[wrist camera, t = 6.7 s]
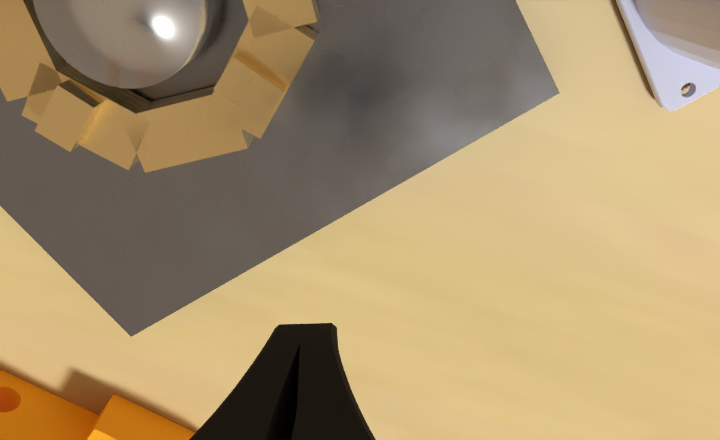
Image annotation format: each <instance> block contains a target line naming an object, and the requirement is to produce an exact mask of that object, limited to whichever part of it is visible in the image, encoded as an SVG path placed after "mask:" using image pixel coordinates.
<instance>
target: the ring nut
mask: <svg viewBox="0 0 720 440" xmlns="http://www.w3.org/2000/svg"><path fill="white" fill-rule="evenodd" d="M243 3H244V7H245V10H246V13H247V16H248V19H249V21H248V23H247V25H246V27H245V29H244V31H243V33H242V35H241V37H240V39H239V41H238V43H237V45H236V47H235V50H234V52H233V54H232V56H231V58H230V60H229V62H228V64H227V66H226V68H225V70H224V72H223V74H222V76H221V78H220V79H219V81H218V82H217V84H216V86H213V87H209V88H205V89H201V90H197V91H193V92H189V93H185V94H181V95H177V96H173V97H169V98H165V99H161V100H157V101H153V102H150V101H148V100H146V99H145V98H143V97H141V96H139V95H137V94H136V93H134V92H132V91H130V90H128V89H126V88H119V87H113V86H109V85H106V84H103V83H100V82H98V81H95V80H93V79H91V78H89V77H87V76H86V75H84V74H82V73H81V72H79V71H78V70H77V69H75V68H74V67H73V66H71V65H70V64H69V63H68V62H67V61H66V60H65V59H64V58H63V57H62V56H61V55H60V54H59V53H58V52H57V51H56V49H55V48H54V47H53V45H52V44H51V43H50V41H49V39H48V38H47V36H46V34H45V33H44V31H43V29H42V27H41V24H40V22H39V20H38V17H37V14H36V11H35V7H34V2H33V0H0V88H1V90H2V92H3V94H4V96H5V98H6V100H7V102H8V101H12V100H16V99H20V98H24V97H28V98H27V101H26V104H25V107H24V109H23V112H22V116H24V117H26V118H27V119H29V120H31V121H33V122H35V123H37V124H38V125H37V127H36V129H35V131H36V132H37V133H39V134H41V135H42V136H44V137H46V138H47V139H49V140H51V141H52V142H54V143H56V144H57V145H59V146H61V147H62V148H64V149H66V150H67V151H69V152H71V151H72V150H74V149H75V148H77V147H78V146H79V145H80V146H82V147H84V148H86V149H88V150H90V151H92V152H94V153H96V154H98V155H99V156H101V157H103V158H105V159H107V160H109V161H111V162H113V163H115V164H117V165H119V166H121V167H123V168H125V169H127V170H129V169H130V168H131V167H132V166H133V165H135V164H136V163H137V162H138V161H139V160H140V162H141V165H142V167H143V169H144V171H145V173H146V172H151V171H155V170H159V169H163V168H167V167H172V166H176V165H180V164H184V163H189V162H193V161H197V160H201V159H205V158H210V157H214V156H218V155H222V154H227V153H231V152H235V151H239V150H244V149H248V147H249V145H250V143H251V142H252V140H253V138H254V136H256V137H258V138H259V139H261V137H262V135H263V133H264V132H265V130H266V128H267V126H268V124H269V123H270V121H271V119H272V117H273V115H274V114H275V112H276V110H277V108H278V106H279V105H280V103H281V101H282V99H283V97H284V95H285V94H286V92H287V90H288V88H289V86H290V85H291V83H292V81H293V79H294V77H295V76H296V74H297V72H298V70H299V68H300V66H301V65H302V63H303V61H304V59H305V57H306V56H307V54H308V52H309V50H310V48H311V47H312V45H313V43H314V41H315V39H316V37H317V35H318V33H317V32H315V31H313V30H312V29H310V28H308V27H307V26H305V25H306V24H310V23H314V22H317V21H318V19H319V17H320V13H319V9H318V6H317V2H316V0H243Z"/></svg>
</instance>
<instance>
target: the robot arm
mask: <svg viewBox="0 0 720 440" xmlns="http://www.w3.org/2000/svg"><path fill="white" fill-rule="evenodd" d="M616 3H617V5H618V8H619V10H620V13H621V15H622V18H623V20H624V22H625V25H626V27H627V30H628V32H629V35H630V37H631V40H632V42H633V45H634V47H635V50H636V52H637V55H638V57H639V60H640V62H641V65H642V67H643V70H644V72H645V75H646V77H647V80H648V82H649V85H650V87H651V90H652V92H653V95H654V97H655V100H656V102H657V104H658V105H659V106H660V107H662V108H664V109H666V110H670V111H673V110H676V109H679V108H681V107H683V106H685V105H686V104H688V103H690V102H692V101H694V100H696V99H698V98H700V97H701V96H703V95H705V94H707V93H709V92H711V91H713V90H715V89H716V88H718V87H720V0H616ZM686 83H690V89H689V91H688V92H687V93H685V94H682V95H681V89H682V87H683V86H684V85H685V84H686ZM189 440H376V439H375V438H374V436H373V434H372V432H371V431H370V429H369V427H368V425H367V423H366V421H365V419H364V417H363V415H362V413H361V411H360V409H359V407H358V404H357V402H356V400H355V398H354V395H353V393H352V391H351V388H350V385H349V383H348V380H347V377H346V374H345V372H344V369H343V365H342V362H341V358H340V354H339V350H338V339H337V327H336V326H334V325H333V324H332V323H320V324H285V325H278V326H277V327H276V328H275V329H274V331H273V333H272V335H271V336H270V338H269V339H268V341H267V343H266V344H265V346H264V347H263V349H262V350H261V352H260V353H259V355H258V356H257V358H256V359H255V361H254V362H253V364H252V365H251V366H250V368H249V369H248V371H247V372H246V373H245V375H244V376H243V377H242V379H241V380H240V381H239V383H238V384H237V385H236V387H235V388H234V389H233V391H232V392H231V393H230V394H229V395H228V397H227V398H226V399H225V400H224V401H223V403H222V404H221V405H220V406H219V407H218V409H217V410H216V411H215V412H214V413H213V415H212V416H211V417H210V418H209V419H208V420H207V421H206V422H205V423H204V425H203V426H202V427H201V428H200V429H199V430H198V431H197V432H196V433H195V434H194V435H193V436H192V437H191V438H190V439H189Z"/></svg>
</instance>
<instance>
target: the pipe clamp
mask: <svg viewBox="0 0 720 440" xmlns="http://www.w3.org/2000/svg"><path fill="white" fill-rule="evenodd" d="M194 434H195V432H193V431H191V430H189V429H187V428H185V427H183V426H181V425H179V424H176V423H174V422H172V421H170V420H168V419H166V418H164V417H162V416H160V415H158V414H156V413H153V412H151V411H149V410H147V409H145V408H143V407H141V406H139V405H137V404H135V403H133V402H131V401H128V400H126V399H124V398H122V397H120V396H118V395H116V394H113V396H112V397H111V398H110V400H109V401H108V403H107V404H106V406H105V407H104V409H103V410H102V412H101V413H100V415H97V414H95V413H93V412H90V411H88V410H86V409H84V408H82V407H80V406H78V405H75V404H73V403H71V402H69V401H67V400H65V399H63V398H60V397H58V396H56V395H54V394H52V393H50V392H48V391H45V390H43V389H41V388H39V387H37V386H35V385H32V384H30V383H28V382H26V381H24V380H22V379H20V378H17V377H15V376H13V375H11V374H9V373H7V372H5V371H2V370H0V440H189V439H190V438H191V437H192V436H193V435H194Z"/></svg>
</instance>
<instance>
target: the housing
mask: <svg viewBox="0 0 720 440" xmlns="http://www.w3.org/2000/svg"><path fill="white" fill-rule="evenodd" d="M33 2H34V7H35V11H36V14H37V17H38V20H39V22H40V24H41V27H42V29H43V31H44V33H45V34H46V36H47V38H48V39H49V41H50V43H51V44H52V45H53V47H54V48H55V49H56V51H57V52H58V53H59V54H60V55H61V56H62V57H63V58H64V59H65V60H66V61H67V62H68V63H69V64H70V65H71V66H73V67H74V68H75V69H77V70H78V71H79V72H81V73H82V74H84V75H86V76H87V77H89V78H91V79H93V80H95V81H98V82H100V83H103V84H106V85H109V86H113V87H119V88H126V89H128V90H130V91H132V92H134V93H136V94H137V95H139V96H141V97H143V98H145V99H146V100H148V101H150V102H153V101H157V100H161V99H165V98H169V97H173V96H177V95H181V94H185V93H189V92H193V91H197V90H201V89H205V88H209V87H213V86H216V84H217V82H218V81H219V79H220V78H221V76H222V74H223V72H224V70H225V68H226V66H227V64H228V62H229V60H230V58H231V56H232V54H233V52H234V50H235V47H236V45H237V43H238V41H239V39H240V37H241V35H242V33H243V31H244V29H245V27H246V25H247V23H248V21H249V19H248V16H247V13H246V10H245V7H244V3H243V0H33ZM316 2H317V6H318V9H319V13H320V17H319V19H318V21H317V22H314V23H310V24H306V25H305V26H307V27H308V28H310V29H312V30H313V31H315V32H317V33H318V35H317V37H316V39H315V41H314V43H313V45H312V47H311V48H310V50H309V52H308V54H307V56H306V57H305V59H304V61H303V63H302V65H301V66H300V68H299V70H298V72H297V74H296V76H295V77H294V79H293V81H292V83H291V85H290V86H289V88H288V90H287V92H286V94H285V95H284V97H283V99H282V101H281V103H280V105H279V106H278V108H277V110H276V112H275V114H274V115H273V117H272V119H271V121H270V123H269V124H268V126H267V128H266V130H265V132H264V133H263V135H262V137H261V139H259V138H258V137H256V136H254V138H253V140H252V142H251V143H250V145H249V147H248V149H244V150H239V151H235V152H231V153H227V154H222V155H218V156H214V157H210V158H205V159H201V160H197V161H193V162H189V163H184V164H180V165H176V166H172V167H167V168H163V169H159V170H155V171H151V172H146V173H145V171H144V169H143V167H142V165H141V162H140V160H139V161H138V162H137V163H136V164H135V165H133V166H132V167H131V168H130V169H129V170H127V169H125V168H123V167H121V166H119V165H117V164H115V163H113V162H111V161H109V160H107V159H105V158H103V157H101V156H99V155H98V154H96V153H94V152H92V151H90V150H88V149H86V148H84V147H82V146H80V145H79V146H78V147H77V148H75V149H74V150H72V151H71V152H69V151H67V150H66V149H64V148H62V147H61V146H59V145H57V144H56V143H54V142H52V141H51V140H49V139H47V138H46V137H44V136H42V135H41V134H39V133H37V132H36V131H35V129H36V127H37V125H38V124H37V123H35V122H33V121H31V120H29V119H27V118H26V117H24V116H22V112H23V109H24V107H25V104H26V101H27V98H28V97H24V98H20V99H16V100H12V101H8V102H7V100H6V98H5V96H4V94H3V92H2V90H1V88H0V206H1V207H2V208H3V209H4V210H5V211H6V212H7V213H8V214H9V215H10V216H11V217H12V218H13V219H14V220H15V221H16V222H17V223H18V224H19V225H20V226H21V227H22V228H23V229H24V230H25V231H26V232H27V233H28V234H29V235H30V236H31V237H32V238H33V239H34V240H35V241H36V242H37V243H38V244H39V245H40V246H41V247H42V248H43V249H44V250H45V251H46V252H47V253H48V254H49V255H50V256H51V257H52V258H53V259H54V260H55V261H56V262H57V263H58V264H59V265H60V266H61V267H62V268H63V269H64V270H65V271H66V272H67V273H68V274H69V275H70V276H71V277H72V278H73V279H74V280H75V281H76V282H77V283H78V284H79V285H80V286H81V287H82V288H83V289H84V290H85V291H86V292H87V293H88V294H89V295H90V296H91V297H92V298H93V299H94V300H95V301H96V302H97V303H98V304H99V305H100V306H101V307H102V308H103V309H104V310H105V311H106V312H107V313H108V314H109V315H110V316H111V317H112V318H113V319H114V320H115V321H116V322H117V323H118V324H119V325H120V326H121V327H122V328H123V329H124V330H125V331H126V332H127V333H128V334H129V335H130V336H133V335H135V334H137V333H138V332H140V331H142V330H144V329H146V328H147V327H149V326H151V325H153V324H154V323H156V322H158V321H160V320H161V319H163V318H165V317H167V316H168V315H170V314H172V313H174V312H175V311H177V310H179V309H181V308H182V307H184V306H186V305H188V304H189V303H191V302H193V301H195V300H196V299H198V298H200V297H202V296H204V295H205V294H207V293H209V292H211V291H212V290H214V289H216V288H218V287H219V286H221V285H223V284H225V283H226V282H228V281H230V280H232V279H233V278H235V277H237V276H239V275H240V274H242V273H244V272H246V271H247V270H249V269H251V268H253V267H254V266H256V265H258V264H260V263H262V262H263V261H265V260H267V259H269V258H270V257H272V256H274V255H276V254H277V253H279V252H281V251H283V250H284V249H286V248H288V247H290V246H291V245H293V244H295V243H297V242H298V241H300V240H302V239H304V238H305V237H307V236H309V235H311V234H312V233H314V232H316V231H318V230H320V229H321V228H323V227H325V226H327V225H328V224H330V223H332V222H334V221H335V220H337V219H339V218H341V217H342V216H344V215H346V214H348V213H349V212H351V211H353V210H355V209H356V208H358V207H360V206H362V205H363V204H365V203H367V202H369V201H371V200H372V199H374V198H376V197H378V196H379V195H381V194H383V193H385V192H386V191H388V190H390V189H392V188H393V187H395V186H397V185H399V184H400V183H402V182H404V181H406V180H407V179H409V178H411V177H413V176H414V175H416V174H418V173H420V172H421V171H423V170H425V169H427V168H429V167H430V166H432V165H434V164H436V163H437V162H439V161H441V160H443V159H444V158H446V157H448V156H450V155H451V154H453V153H455V152H457V151H458V150H460V149H462V148H464V147H465V146H467V145H469V144H471V143H472V142H474V141H476V140H478V139H479V138H481V137H483V136H485V135H487V134H488V133H490V132H492V131H494V130H495V129H497V128H499V127H501V126H502V125H504V124H506V123H508V122H509V121H511V120H513V119H515V118H516V117H518V116H520V115H522V114H523V113H525V112H527V111H529V110H530V109H532V108H534V107H536V106H537V105H539V104H541V103H543V102H545V101H546V100H548V99H550V98H552V97H553V96H555V95H557V94H559V91H558V89H557V87H556V85H555V83H554V80H553V78H552V76H551V74H550V72H549V70H548V68H547V66H546V64H545V62H544V59H543V57H542V55H541V53H540V51H539V49H538V47H537V45H536V43H535V40H534V38H533V36H532V34H531V32H530V30H529V28H528V26H527V24H526V22H525V19H524V17H523V15H522V13H521V11H520V9H519V7H518V5H517V3H516V1H515V0H316Z"/></svg>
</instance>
